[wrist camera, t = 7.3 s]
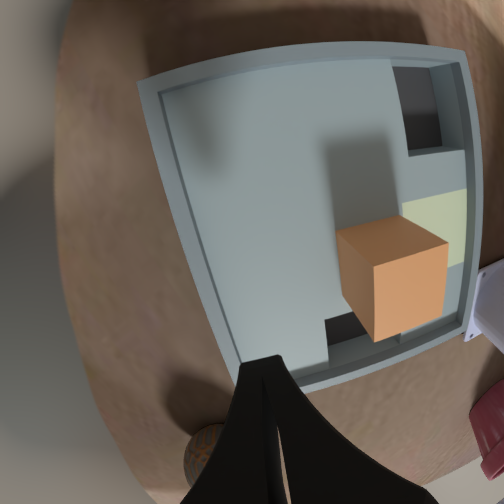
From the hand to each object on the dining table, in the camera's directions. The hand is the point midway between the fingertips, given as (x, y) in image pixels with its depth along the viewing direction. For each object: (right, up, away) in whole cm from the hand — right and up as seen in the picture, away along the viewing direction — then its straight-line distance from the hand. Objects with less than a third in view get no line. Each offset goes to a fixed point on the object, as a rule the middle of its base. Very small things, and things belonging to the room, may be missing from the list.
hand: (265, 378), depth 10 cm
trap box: (+5, +6, +8) cm, 11 cm away
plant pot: (+37, -19, +22) cm, 47 cm away
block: (+6, +4, +6) cm, 10 cm away
